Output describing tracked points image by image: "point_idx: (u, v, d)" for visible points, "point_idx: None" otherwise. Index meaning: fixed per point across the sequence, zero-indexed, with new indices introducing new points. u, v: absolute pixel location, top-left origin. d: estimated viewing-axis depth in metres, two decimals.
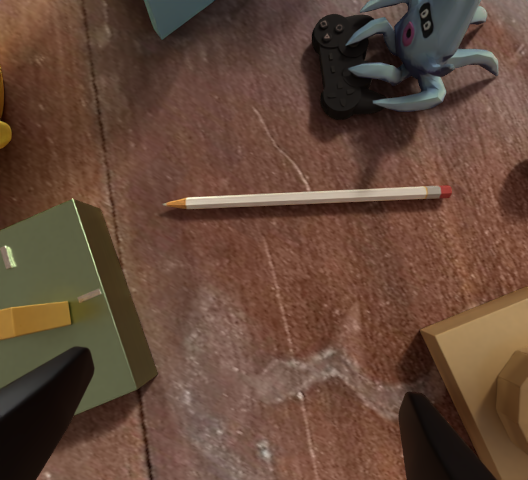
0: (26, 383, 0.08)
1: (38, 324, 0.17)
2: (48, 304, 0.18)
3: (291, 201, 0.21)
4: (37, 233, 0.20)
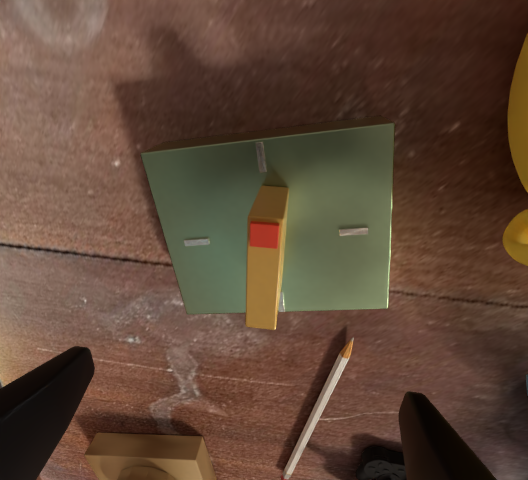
0: (26, 383, 0.08)
1: None
2: (278, 298, 0.17)
3: (312, 416, 0.26)
4: (366, 267, 0.17)
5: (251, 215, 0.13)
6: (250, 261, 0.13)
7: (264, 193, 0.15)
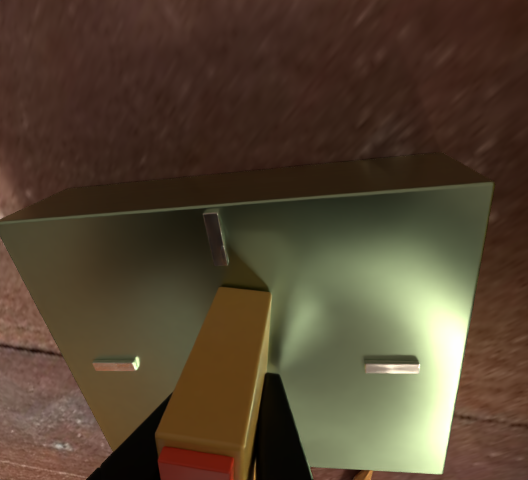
0: None
1: None
2: None
3: None
4: (410, 418, 0.10)
5: (164, 432, 0.05)
6: None
7: (218, 318, 0.07)
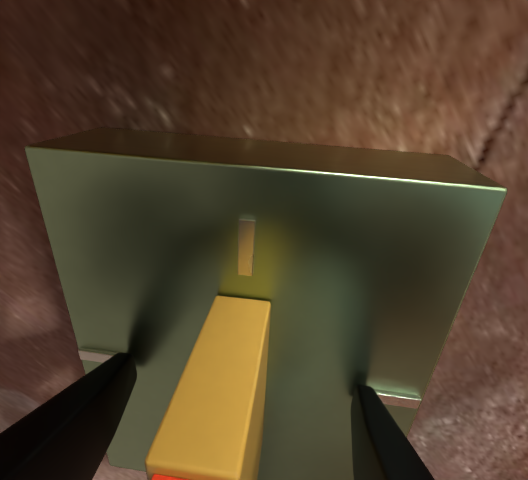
0: (78, 391, 0.08)
1: None
2: None
3: None
4: (350, 230, 0.07)
5: (154, 458, 0.05)
6: None
7: (214, 330, 0.07)
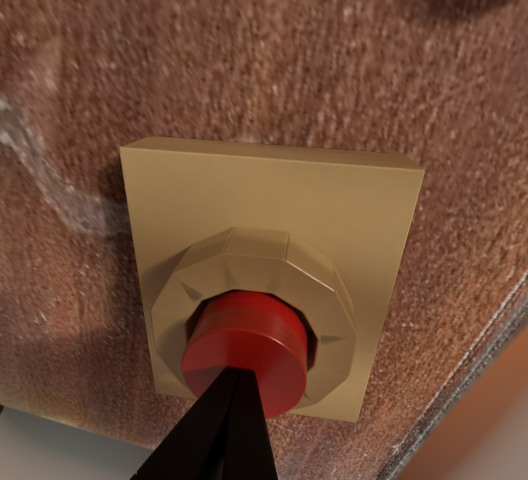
0: (206, 410, 0.07)
1: None
2: None
3: None
4: None
5: None
6: None
7: None
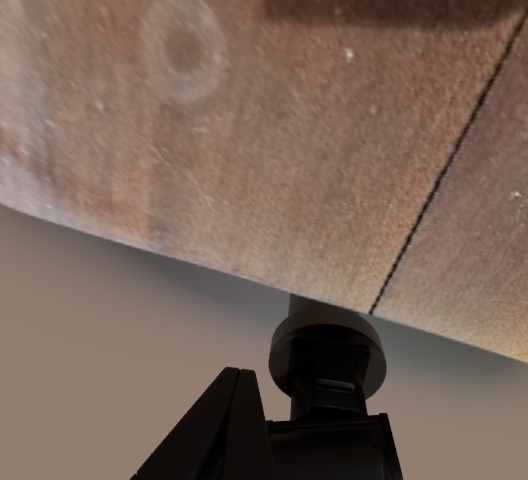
0: (206, 410, 0.07)
1: None
2: None
3: None
4: None
5: None
6: None
7: None
